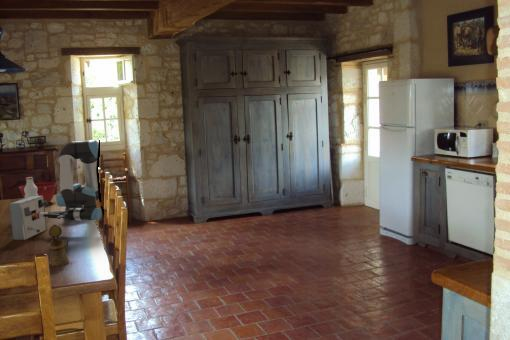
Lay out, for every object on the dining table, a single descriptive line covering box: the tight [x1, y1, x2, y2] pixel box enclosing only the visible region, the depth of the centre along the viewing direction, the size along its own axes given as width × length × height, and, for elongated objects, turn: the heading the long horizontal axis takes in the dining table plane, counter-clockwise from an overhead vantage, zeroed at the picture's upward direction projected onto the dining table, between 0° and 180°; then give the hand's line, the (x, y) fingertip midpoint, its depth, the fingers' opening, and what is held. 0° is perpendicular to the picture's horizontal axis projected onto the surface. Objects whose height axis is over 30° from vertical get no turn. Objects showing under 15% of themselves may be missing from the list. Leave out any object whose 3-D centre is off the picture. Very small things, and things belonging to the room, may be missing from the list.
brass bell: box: [48, 224, 69, 267], centre depth 263 cm, size 9×14×18 cm, turn 23°
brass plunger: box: [31, 211, 40, 219], centre depth 325 cm, size 8×5×5 cm, turn 81°
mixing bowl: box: [18, 182, 57, 204], centre depth 433 cm, size 28×28×16 cm
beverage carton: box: [51, 236, 69, 254], centre depth 283 cm, size 8×19×7 cm, turn 15°
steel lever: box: [28, 226, 40, 234], centre depth 317 cm, size 7×2×2 cm, turn 82°
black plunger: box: [38, 201, 49, 208], centre depth 332 cm, size 6×4×4 cm, turn 81°
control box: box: [8, 196, 48, 241], centre depth 325 cm, size 10×24×22 cm, turn 171°
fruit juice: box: [24, 176, 38, 198], centre depth 384 cm, size 9×9×28 cm
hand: (39, 215), depth 324 cm, fingers closed
